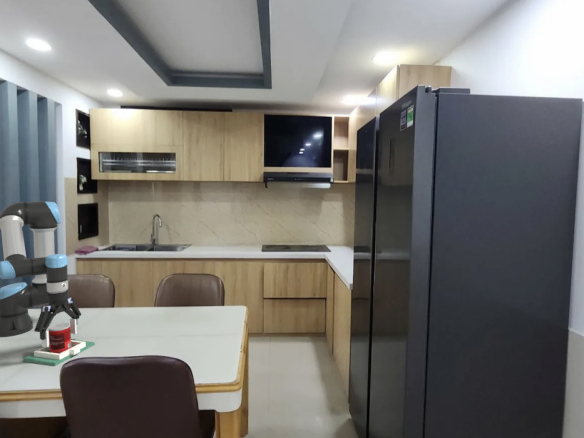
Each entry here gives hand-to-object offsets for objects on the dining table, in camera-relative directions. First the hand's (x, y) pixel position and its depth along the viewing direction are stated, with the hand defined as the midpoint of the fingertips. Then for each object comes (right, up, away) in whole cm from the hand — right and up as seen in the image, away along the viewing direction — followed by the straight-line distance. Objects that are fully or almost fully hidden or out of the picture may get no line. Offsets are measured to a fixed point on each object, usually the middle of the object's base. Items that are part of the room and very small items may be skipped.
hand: (60, 339), depth 148 cm
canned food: (0, -5, 0) cm, 5 cm away
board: (0, -6, +2) cm, 6 cm away
